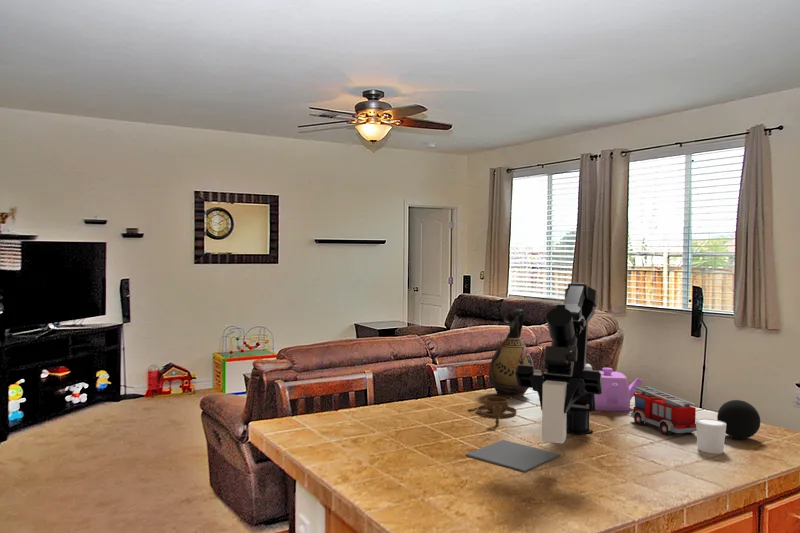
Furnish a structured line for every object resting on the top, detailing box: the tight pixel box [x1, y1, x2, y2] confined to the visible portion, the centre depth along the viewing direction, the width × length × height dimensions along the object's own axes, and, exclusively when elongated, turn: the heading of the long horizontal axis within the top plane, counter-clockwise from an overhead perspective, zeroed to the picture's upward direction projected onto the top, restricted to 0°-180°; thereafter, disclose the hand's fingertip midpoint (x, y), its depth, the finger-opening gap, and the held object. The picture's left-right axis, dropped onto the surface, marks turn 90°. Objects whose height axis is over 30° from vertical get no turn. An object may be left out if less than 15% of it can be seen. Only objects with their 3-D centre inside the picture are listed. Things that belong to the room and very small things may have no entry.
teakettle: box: [587, 367, 644, 412], centre depth 194 cm, size 17×17×12 cm
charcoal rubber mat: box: [465, 439, 561, 473], centre depth 143 cm, size 16×16×1 cm
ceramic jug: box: [488, 308, 535, 399], centre depth 208 cm, size 17×15×30 cm
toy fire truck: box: [630, 385, 697, 436], centre depth 168 cm, size 9×19×10 cm, turn 18°
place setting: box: [467, 396, 517, 427], centre depth 180 cm, size 18×20×6 cm
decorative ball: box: [716, 399, 761, 440], centre depth 160 cm, size 10×10×10 cm
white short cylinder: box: [695, 418, 726, 454], centre depth 149 cm, size 7×7×7 cm
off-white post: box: [541, 380, 567, 444], centre depth 133 cm, size 4×4×12 cm
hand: (553, 411), depth 132 cm, fingers closed on off-white post, 4 cm apart
